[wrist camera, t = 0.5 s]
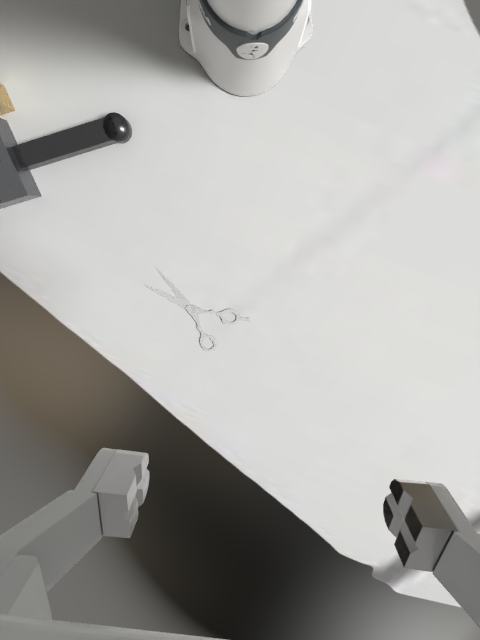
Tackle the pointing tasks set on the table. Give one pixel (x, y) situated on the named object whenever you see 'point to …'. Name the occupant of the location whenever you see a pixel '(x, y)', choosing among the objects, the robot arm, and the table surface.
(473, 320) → the table surface
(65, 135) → the grey handled square frame
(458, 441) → the table surface
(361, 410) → the table surface
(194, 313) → the scissors
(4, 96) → the bar
